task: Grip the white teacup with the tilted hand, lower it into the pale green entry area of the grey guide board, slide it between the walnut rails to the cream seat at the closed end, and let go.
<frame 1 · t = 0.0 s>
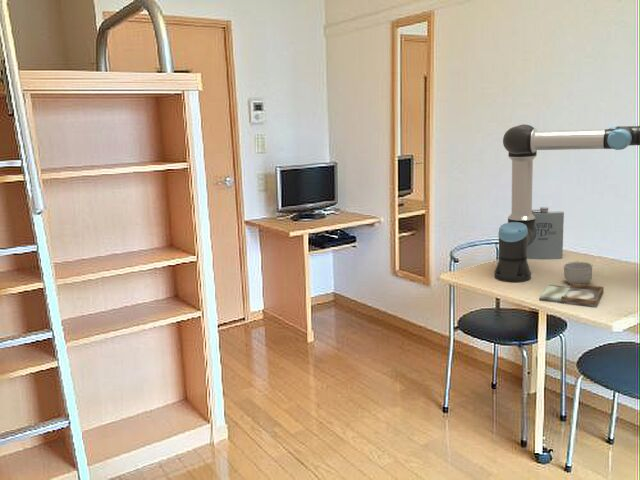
flask: (543, 258, 275), on the table
guide board: (571, 296, 221), on the table
teacup: (577, 282, 238), on the table
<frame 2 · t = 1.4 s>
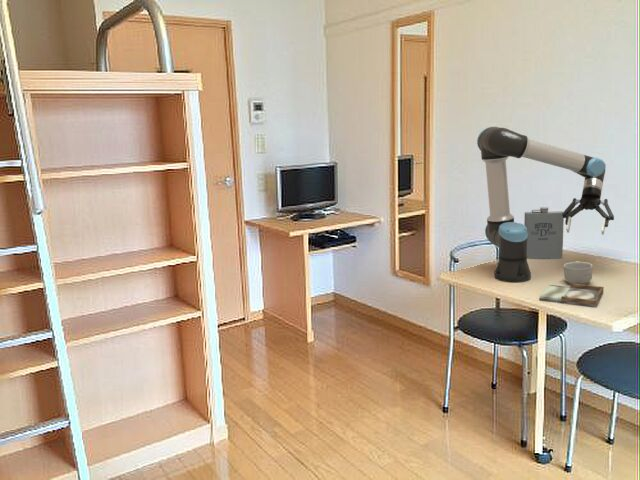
hand: (584, 231, 242), 19 cm above the table, tool tilted 45°, fingers open, 13 cm apart
nothing on the table moved.
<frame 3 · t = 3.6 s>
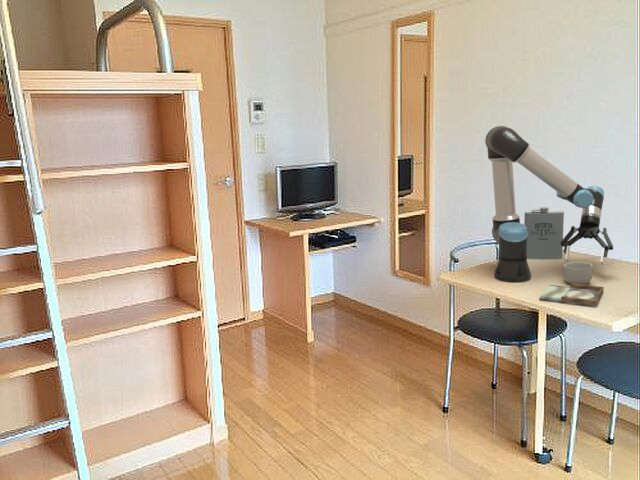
hand: (583, 261, 238), 8 cm above the table, tool tilted 45°, fingers open, 13 cm apart
nothing on the table moved.
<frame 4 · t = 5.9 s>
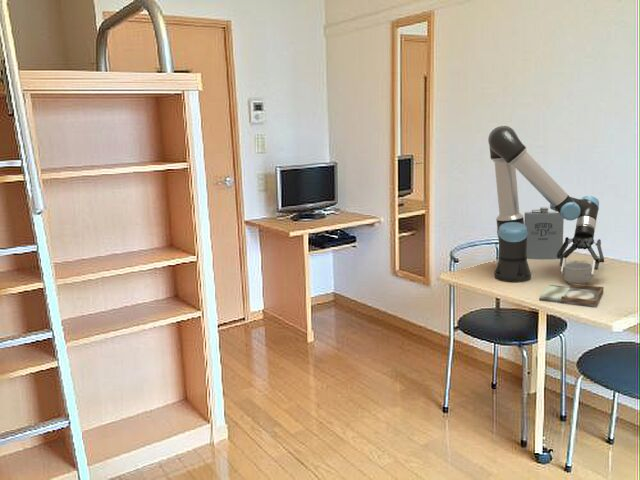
hand: (577, 274, 234), 4 cm above the table, tool tilted 45°, fingers closed on teacup, 11 cm apart
teacup: (577, 282, 238), on the table, touching gripper
everything else where it was.
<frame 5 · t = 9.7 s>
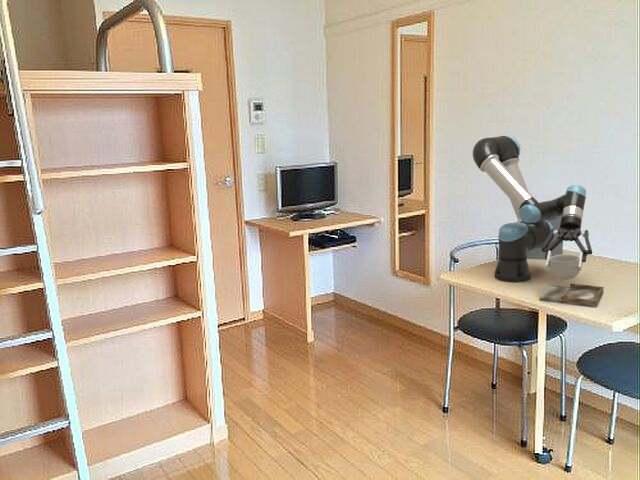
hand: (563, 267, 217), 12 cm above the table, tool tilted 45°, fingers closed on teacup, 11 cm apart
teacup: (564, 276, 220), point 8 cm above the table, touching gripper
everything else where it was.
when the fingers open (5 cm above the table, at t = 13.4 s): teacup stays where it is, resting on guide board.
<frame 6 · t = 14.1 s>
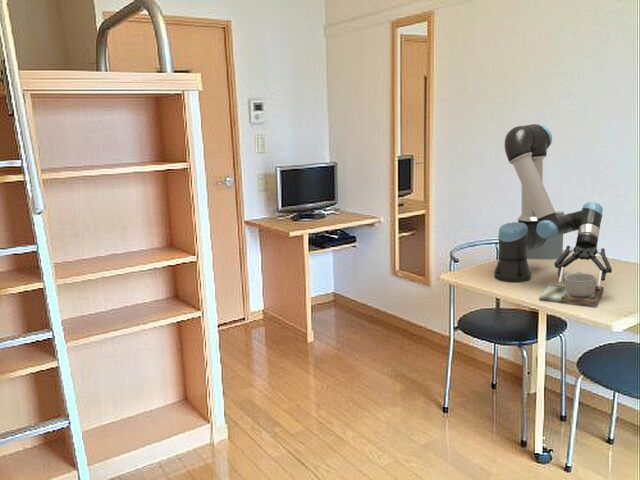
hand: (579, 285, 216), 6 cm above the table, tool tilted 45°, fingers open, 13 cm apart
teacup: (579, 295, 219), point 1 cm above the table, touching guide board
everything else where it was.
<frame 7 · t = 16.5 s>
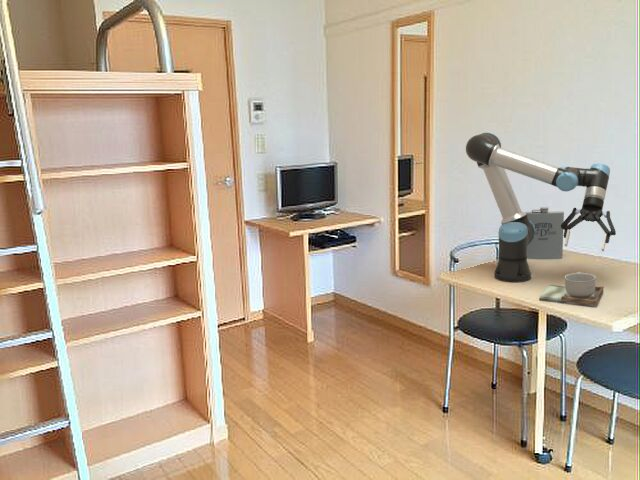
hand: (583, 247, 227), 17 cm above the table, tool tilted 35°, fingers open, 13 cm apart
nothing on the table moved.
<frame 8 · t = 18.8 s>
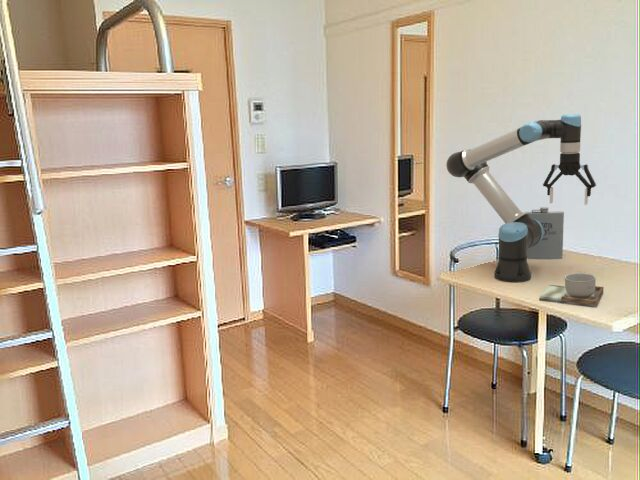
hand: (568, 203, 239), 32 cm above the table, tool pointing down, fingers open, 13 cm apart
nothing on the table moved.
at the end: teacup 0.2 cm from the target spot on the guide board, point 0.9 cm above the guide board's base; teacup tilted 0°; the gripper is holding nothing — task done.
